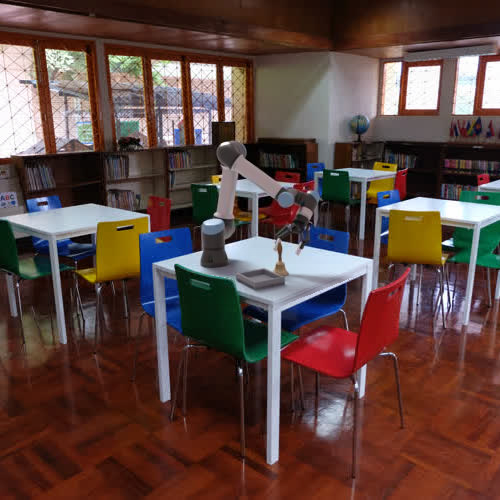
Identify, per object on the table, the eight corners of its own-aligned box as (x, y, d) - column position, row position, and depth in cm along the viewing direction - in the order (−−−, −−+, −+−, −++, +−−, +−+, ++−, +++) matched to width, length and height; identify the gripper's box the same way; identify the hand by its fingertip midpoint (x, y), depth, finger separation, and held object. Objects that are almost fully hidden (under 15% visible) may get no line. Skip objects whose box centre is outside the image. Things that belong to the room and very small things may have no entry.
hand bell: (279, 276, 244) (279, 245, 240) (268, 273, 250) (268, 242, 246) (291, 273, 248) (292, 242, 244) (281, 270, 255) (281, 239, 251)
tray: (236, 280, 239) (236, 273, 238) (264, 274, 247) (264, 268, 246) (255, 290, 224) (255, 282, 223) (284, 284, 232) (284, 277, 231)
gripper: (326, 224, 250) (309, 259, 243) (285, 219, 266) (268, 252, 258) (320, 215, 245) (303, 251, 238) (279, 211, 261) (262, 244, 253)
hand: (285, 252), depth 248 cm, fingers open, 13 cm apart
